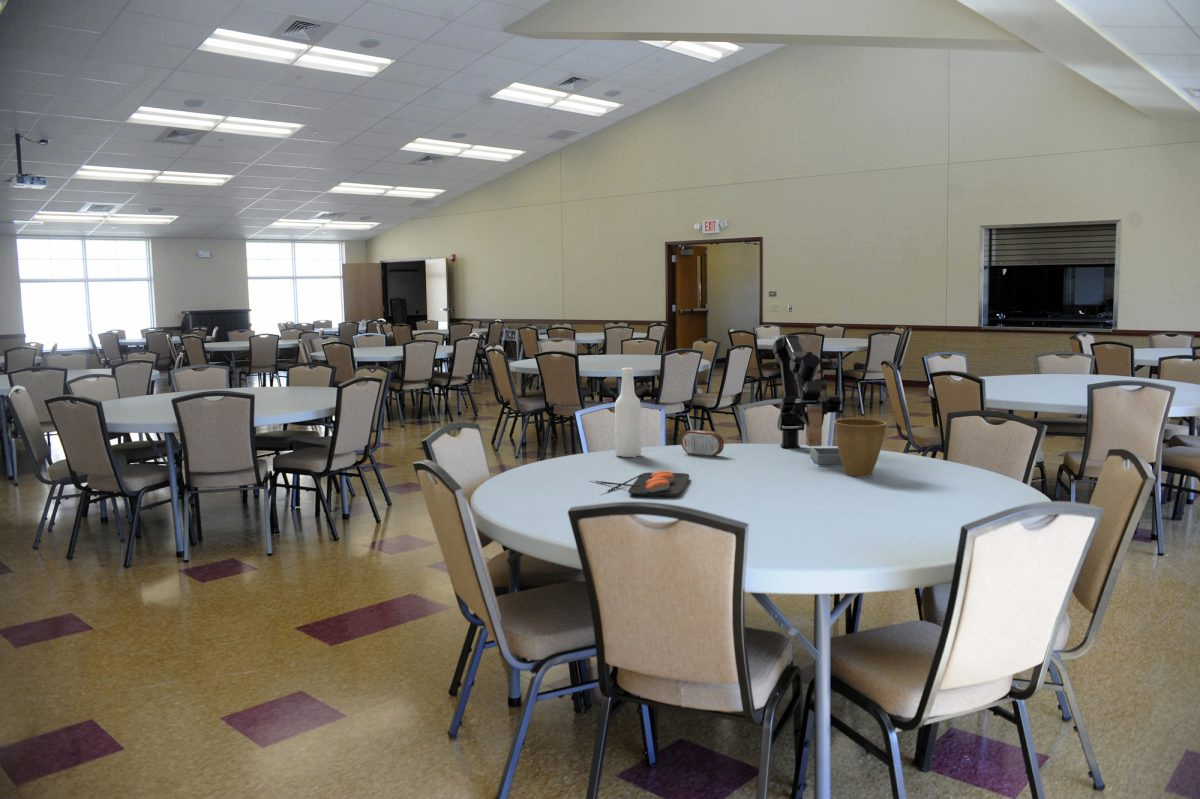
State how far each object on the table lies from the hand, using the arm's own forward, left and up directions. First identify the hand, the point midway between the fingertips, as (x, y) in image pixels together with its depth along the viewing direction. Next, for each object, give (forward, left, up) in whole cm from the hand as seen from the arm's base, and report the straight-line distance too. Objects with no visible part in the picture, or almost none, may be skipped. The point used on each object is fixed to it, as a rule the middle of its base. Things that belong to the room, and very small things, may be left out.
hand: (815, 425), depth 290 cm
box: (-3, +7, -12) cm, 15 cm away
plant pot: (+18, +10, -13) cm, 24 cm away
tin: (-17, -35, -13) cm, 41 cm away
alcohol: (-16, -60, -13) cm, 63 cm away
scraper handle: (-1, 0, -7) cm, 7 cm away
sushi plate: (+34, -57, -13) cm, 68 cm away
